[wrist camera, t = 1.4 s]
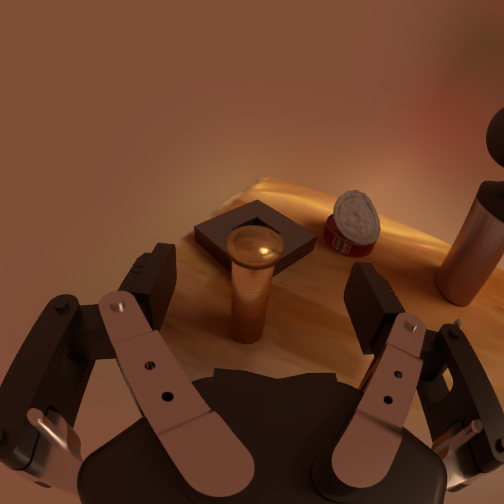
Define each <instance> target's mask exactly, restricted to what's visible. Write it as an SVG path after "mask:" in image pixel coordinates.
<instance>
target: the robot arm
mask: <svg viewBox="0 0 504 504" xmlns="http://www.w3.org/2000/svg"><path fill="white" fill-rule="evenodd" d="M486 144H487V148H488V151H489V153H490V155H491V157H492V158H493V159H494V160H495V161H496V162H497V163H498V164H499V165H500V166H502V167H504V108H502V109H501V110H500V111H498V112H497V113H496V114H495V116H494V117H493V118H492V120H491V122H490V124H489V126H488V130H487V134H486ZM503 254H504V181H499V182H497V181H484V182H483V183H482V184H481V185H480V187H479V190H478V192H477V195H476V197H475V199H474V202H473V204H472V206H471V209H470V211H469V213H468V215H467V217H466V220H465V222H464V224H463V226H462V228H461V230H460V232H459V234H458V236H457V237H456V239H455V241H454V243H453V245H452V247H451V249H450V251H449V252H448V254H447V256H446V258H445V259H444V261H443V263H442V265H441V266H440V268H439V270H438V272H437V273H436V275H435V282H436V285H437V287H438V289H439V291H440V292H441V293H442V294H443V295H444V297H445V298H447V299H448V300H449V301H451V302H452V303H454V304H456V305H459V306H466V305H469V304H470V303H471V301H472V300H473V299H474V297H475V296H476V295H477V293H478V292H479V291H480V289H481V288H482V286H483V285H484V284H485V282H486V281H487V279H488V278H489V276H490V275H491V273H492V272H493V270H494V269H495V267H496V266H497V264H498V262H499V261H500V259H501V257H502V256H503ZM176 278H177V272H176V248H175V244H167V243H157V245H156V246H155V248H154V250H153V251H152V253H144V254H143V255H142V256H140V257H139V258H137V260H136V261H135V263H134V264H133V267H132V268H131V269H130V271H129V273H128V274H127V276H126V277H125V279H124V280H123V282H122V284H121V285H120V287H119V289H118V290H117V291H114V292H110V293H108V294H106V295H105V296H103V297H102V299H101V300H100V302H99V304H95V305H82V306H80V305H79V302H78V300H77V298H76V297H75V296H73V295H69V294H65V295H59V296H57V297H55V298H53V299H52V300H51V301H50V302H49V303H48V304H47V306H46V307H45V309H44V310H43V312H42V313H41V315H40V316H39V318H38V320H37V321H36V323H35V324H34V326H33V327H32V329H31V331H30V333H29V334H28V336H27V337H26V339H25V341H24V343H23V344H22V346H21V348H20V350H19V351H18V353H17V355H16V357H15V359H14V360H13V362H12V364H11V366H10V368H9V370H8V372H7V374H6V376H5V378H4V380H3V382H2V384H1V386H0V461H1V462H2V463H4V465H5V466H7V467H8V468H9V469H11V470H12V471H14V472H16V473H17V474H19V475H21V476H22V477H24V478H26V479H27V480H30V481H33V482H34V483H36V484H38V485H40V486H42V487H46V488H50V487H54V488H56V489H59V490H61V491H64V492H66V493H69V494H71V495H74V496H77V497H79V498H80V501H81V504H443V502H444V496H445V492H446V491H449V492H456V491H459V490H461V489H462V488H464V487H466V486H468V485H470V484H472V483H473V482H475V481H477V480H479V479H481V478H482V477H484V476H486V475H487V474H489V473H490V472H492V471H494V470H495V469H497V468H498V467H500V466H501V465H503V464H504V413H503V410H502V408H501V406H500V403H499V401H498V399H497V396H496V394H495V392H494V390H493V388H492V385H491V383H490V381H489V379H488V377H487V375H486V373H485V371H484V369H483V367H482V365H481V363H480V361H479V359H478V358H477V356H476V354H475V352H474V350H473V348H472V347H471V345H470V343H469V341H468V339H467V338H466V336H465V334H464V333H463V332H462V330H461V329H459V328H458V327H457V326H455V325H452V324H444V325H443V326H442V327H441V329H440V330H439V332H435V331H431V330H427V329H426V328H425V325H424V323H423V322H422V320H421V319H419V318H418V317H417V316H415V315H413V314H410V313H406V312H405V310H404V308H403V306H402V305H401V303H400V301H399V300H398V298H397V296H395V293H394V291H393V290H392V288H391V286H390V285H389V283H388V281H387V280H385V279H384V278H383V277H382V276H381V275H379V274H378V273H377V272H376V270H375V269H374V267H373V265H372V264H371V263H362V262H355V263H354V264H353V267H352V270H351V273H350V276H349V279H348V282H347V284H346V287H345V291H344V302H345V305H346V308H347V310H348V313H349V316H350V318H351V321H352V324H353V327H354V329H355V332H356V335H357V338H358V340H359V343H360V346H361V349H362V352H363V355H364V354H374V359H373V360H372V362H371V364H370V366H369V368H368V370H367V372H366V374H365V376H364V378H363V380H362V382H361V383H360V385H359V387H358V389H356V388H354V387H352V386H350V385H348V384H345V383H341V382H337V378H336V374H335V373H306V374H301V375H296V376H291V377H286V378H281V379H275V378H271V377H267V376H263V375H259V374H255V373H252V372H248V371H242V370H230V369H219V368H214V375H213V377H207V378H202V379H199V380H196V381H193V382H191V381H190V380H189V379H188V377H187V376H186V374H185V373H184V371H183V370H182V368H181V367H180V365H179V364H178V362H177V360H176V359H175V357H174V356H173V354H172V353H171V351H170V349H169V348H168V346H167V345H166V343H165V341H164V340H163V338H162V336H161V335H160V333H159V332H160V329H161V326H162V323H163V320H164V317H165V314H166V311H167V309H168V306H169V303H170V300H171V297H172V295H173V292H174V289H175V286H176ZM114 358H115V359H116V361H117V363H118V366H119V368H120V370H121V373H122V375H123V377H124V380H125V382H126V384H127V386H128V388H129V390H130V392H131V395H132V397H133V399H134V401H135V403H136V405H137V407H138V409H139V411H140V413H141V415H142V418H140V419H139V420H138V421H137V422H135V423H134V424H133V425H131V426H130V427H128V428H127V429H125V430H124V431H123V432H121V433H120V434H118V435H117V436H116V437H114V438H113V439H111V440H110V441H109V442H107V443H106V444H105V445H103V446H101V447H100V448H98V449H97V450H95V451H94V452H92V453H91V454H90V455H89V456H88V457H87V458H86V459H85V460H84V462H83V460H82V458H81V453H80V450H81V442H80V438H79V436H78V435H77V433H76V432H75V431H74V429H73V427H74V423H75V420H76V417H77V413H78V410H79V407H80V404H81V401H82V398H83V395H84V392H85V389H86V386H87V383H88V380H89V377H90V375H91V372H92V369H93V367H94V364H95V361H96V360H98V359H114ZM447 368H448V369H449V371H450V373H451V376H452V378H453V387H452V389H451V391H450V392H449V390H448V387H447V385H446V382H445V380H444V378H443V375H442V374H443V373H444V372H445V371H446V369H447ZM416 389H417V392H418V395H419V398H420V401H421V404H422V407H423V411H424V414H425V417H426V420H427V424H428V427H429V431H430V434H431V438H432V442H433V445H432V448H431V449H430V448H429V447H428V446H427V445H425V444H424V443H423V442H422V441H420V440H419V439H418V438H417V437H415V436H414V435H413V434H412V433H410V432H409V431H408V430H407V429H406V428H404V427H403V425H404V423H405V420H406V417H407V414H408V411H409V408H410V406H411V402H412V399H413V396H414V393H415V390H416Z"/></svg>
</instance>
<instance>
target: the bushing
mask: <svg viewBox="0 0 504 504" xmlns="http://www.w3.org/2000/svg"><path fill="white" fill-rule="evenodd" d="M282 251H283V240H282V238H281V237H280V236H279V235H278V234H277V233H276V232H275V231H273V230H271V229H269V228H266V227H262V226H254V225H251V226H243V227H240V228H237V229H235V230H234V231H232V232H231V233H230V235H229V236H228V238H227V254H228V256H229V258H230V259H231V261H232V287H231V334H232V336H233V338H234V339H235V340H236V341H238V342H240V343H243V344H252V343H255V342H257V341H258V340H259V339H260V338H261V337H262V334H263V329H264V324H265V318H266V313H267V307H268V301H269V295H270V289H271V283H272V278H273V272H274V265H275V264H277V263H278V262H279V261H280V259H281V256H282Z"/></svg>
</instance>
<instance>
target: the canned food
mask: <svg viewBox="0 0 504 504" xmlns="http://www.w3.org/2000/svg"><path fill="white" fill-rule="evenodd" d="M380 230H381V229H380V221H379V218H378V215H377V212H376V210H375V208H374V206H373V204H372V202H371V200H370V199H369V198H368V197H367V196H366V194H365V193H361V192H359V191H358V190H353V191H347V192H346V193H344V194H343V195H341V196H340V197H339V198H338V200H337V201H336V203H335V205H334V212H333V214H332V215H330V216H329V217H328V219H327V222H326V226H325V230H324V235H323V236H324V239H325V241H326V243H327V244H328V245H329V246H330V247H331V248H332V249H333V250H335V251H336V252H338V253H340V254H343V255H345V256H349V257H356V258H357V257H365V256H367V255H369V254H370V253H371V252H372V250H373V248H374V246H375V243H376V241H377V239H378V238H379V233H380Z"/></svg>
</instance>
